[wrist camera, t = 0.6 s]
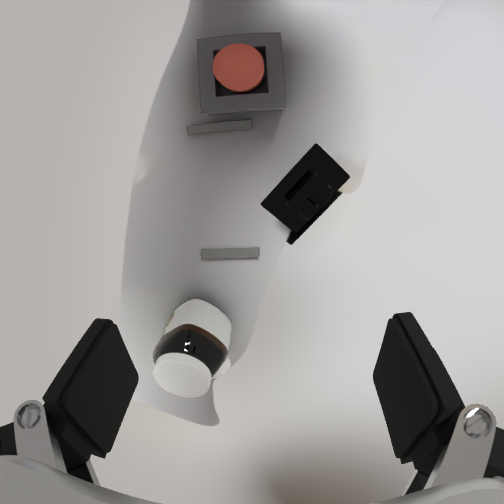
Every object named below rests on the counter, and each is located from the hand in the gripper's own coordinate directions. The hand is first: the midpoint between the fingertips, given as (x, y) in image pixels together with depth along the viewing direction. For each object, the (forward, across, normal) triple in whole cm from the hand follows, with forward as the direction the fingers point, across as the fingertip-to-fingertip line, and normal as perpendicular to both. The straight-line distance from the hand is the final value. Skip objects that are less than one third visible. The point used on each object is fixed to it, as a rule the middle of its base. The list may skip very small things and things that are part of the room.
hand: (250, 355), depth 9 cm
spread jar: (+25, +9, +20) cm, 34 cm away
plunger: (+23, +1, -13) cm, 26 cm away
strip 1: (+25, +4, -7) cm, 26 cm away
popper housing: (+25, +1, -13) cm, 28 cm away
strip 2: (+25, +4, +8) cm, 27 cm away
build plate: (+26, -5, 0) cm, 26 cm away
